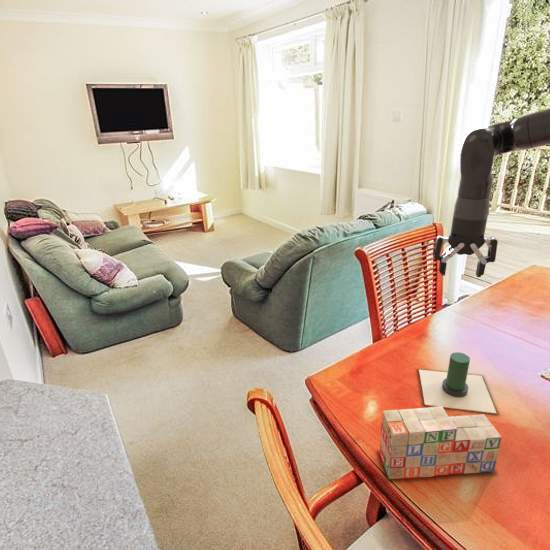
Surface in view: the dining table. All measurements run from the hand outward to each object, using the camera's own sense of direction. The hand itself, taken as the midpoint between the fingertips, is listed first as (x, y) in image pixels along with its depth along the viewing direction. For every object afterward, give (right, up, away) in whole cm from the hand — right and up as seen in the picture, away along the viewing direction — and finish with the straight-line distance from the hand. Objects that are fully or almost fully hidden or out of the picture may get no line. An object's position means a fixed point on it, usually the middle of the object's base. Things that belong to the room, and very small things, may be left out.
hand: (460, 275), depth 98 cm
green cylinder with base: (-2, -30, -1) cm, 30 cm away
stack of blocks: (-15, -39, -20) cm, 47 cm away
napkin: (-2, -30, -1) cm, 30 cm away
